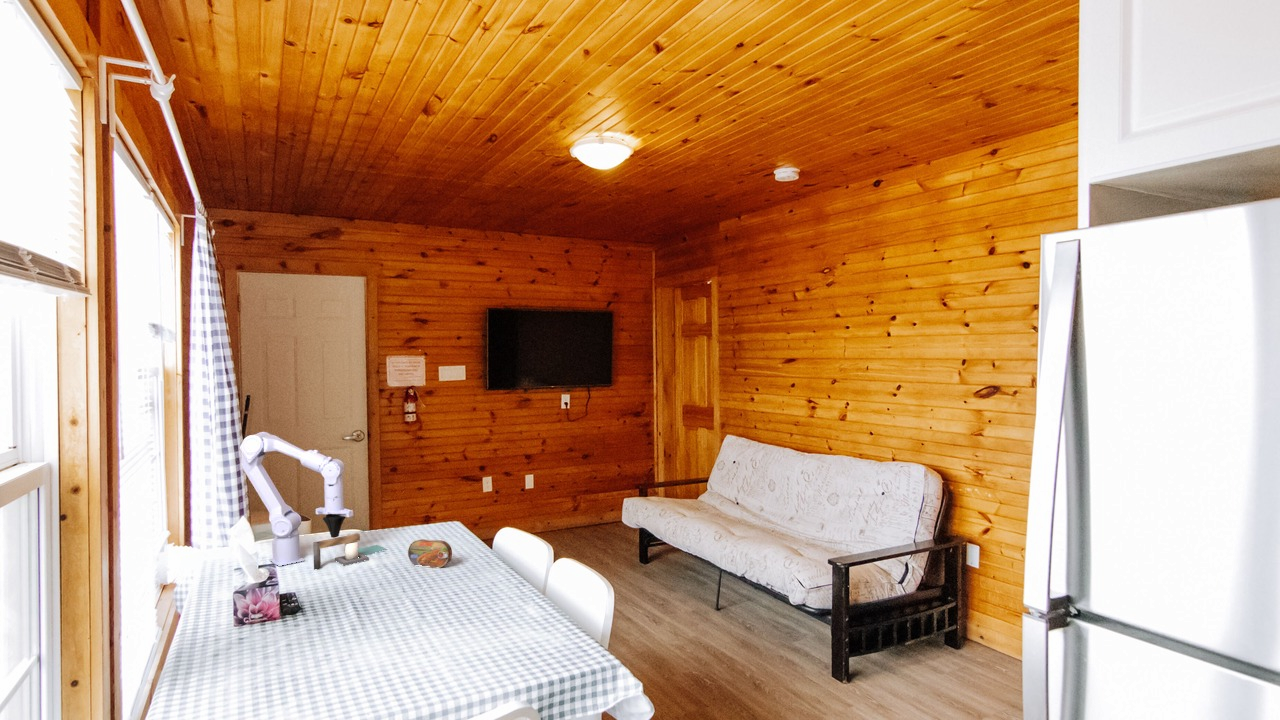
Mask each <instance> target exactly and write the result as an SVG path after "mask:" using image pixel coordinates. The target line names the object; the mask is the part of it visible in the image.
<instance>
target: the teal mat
mask: <svg viewBox="0 0 1280 720" xmlns="http://www.w3.org/2000/svg"><path fill="white" fill-rule="evenodd" d="M382 550H387V551H388V549H387V548H385V547H383V546H381V545H378V544H374V545H370V546H365V547H360V548H358V552H359V553H361V554H363V555H366V556H368V555H367V554H370V555H372V554H371V553H374V554H376V553H375V552H378V553H380V552H379V551H382Z"/></svg>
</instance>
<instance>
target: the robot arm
mask: <svg viewBox="0 0 1280 720" xmlns="http://www.w3.org/2000/svg"><path fill="white" fill-rule="evenodd" d="M239 450H240V453H241V455H240V456H241V458H240V459H241V460H240V461H241V464H240V465H241V468H242V470H243V471H244V473H245V475H246V476H247V478H248V480H249V481H250V483H251V485H252V486H253V487H254V489H255V491H256V493H257V494H258V496H259V498H260V500H261V501H262V503H263V504H264V506H265V508H266V509H267V511H268V513H269V515H268V520H269V522H270V524H271V532H272V534H273V535H274V537H273V539H272V543H271V544H272V546H271V547H272V551H271V552H272V558H270V559H269V561H270V562H271V561H272V562H271V563H272V564H274V565H275V566H277V565H278V566H277V567H283V566H282V565H284V566H288V565H292V564H291V563H293V564H296V562H297V563H300V562H301V561H302V562H304V561H305V559H304V558H303V557H301V554H300V551H301V550H300V547H301V546H300V531H299V527H300V526H301V524H302V517H301V515H300V514H299V513H298V512H296V511H294V509H293V507H292V506H290V505H289V504H286V502H285V500H284V498H283V497H282V496H281V494H280V492H279V491H278V489H277V487H276V486H275V484H274V482H273V480H272V478H271V477H270V475H269V474H268V471H266V469H265V467H264V465H263V464H262V463H263V460H264V457H265V455H266V454H267V452H268V453H269V452H279V453H281V454H283V455H286V456H288V457H291V458H294V459H295V460H299V462H300V464H301V466H303V467H305V468H308V469H309V470H312V471H314V472H316V473H319V474H321V476H322V477H323V478H324V483H323V485H324V486H323V487H324V489H323V490H324V491H323V492H324V507H318V508H315V515H325V516H323V517H322V520H323V521H324V523H325V524H326V526H327V529H328V531H329V535H330V538H331V539H332V538H337V537H340V533H341V528H342V525H343V523H344V521H345V520H346V518H352V517H353V516H354V510H353V509H349V508H345V507H344V482H343V481H344V479H343V473H344V471H345V467H346V466H345V464H344V462H343V461H342V460H340V459H339V458H334V459H333V457H332V456H326V455H325V454H322V453H320V452H319V450H318V449H314V450H313V449H309V450H304V449H302V448H300V447H299V446H296V445H294V444H292V443H290V442H288V441H286V440H285V439H282V438H280V437H279V436H277V435H275V434H270V433H269V432H267V431H260V432H258V433H255V434H250V435H248V436H246V437H245V438H244V439H243V440H242V441H241V444H240V446H239ZM287 564H288V565H287Z"/></svg>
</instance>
